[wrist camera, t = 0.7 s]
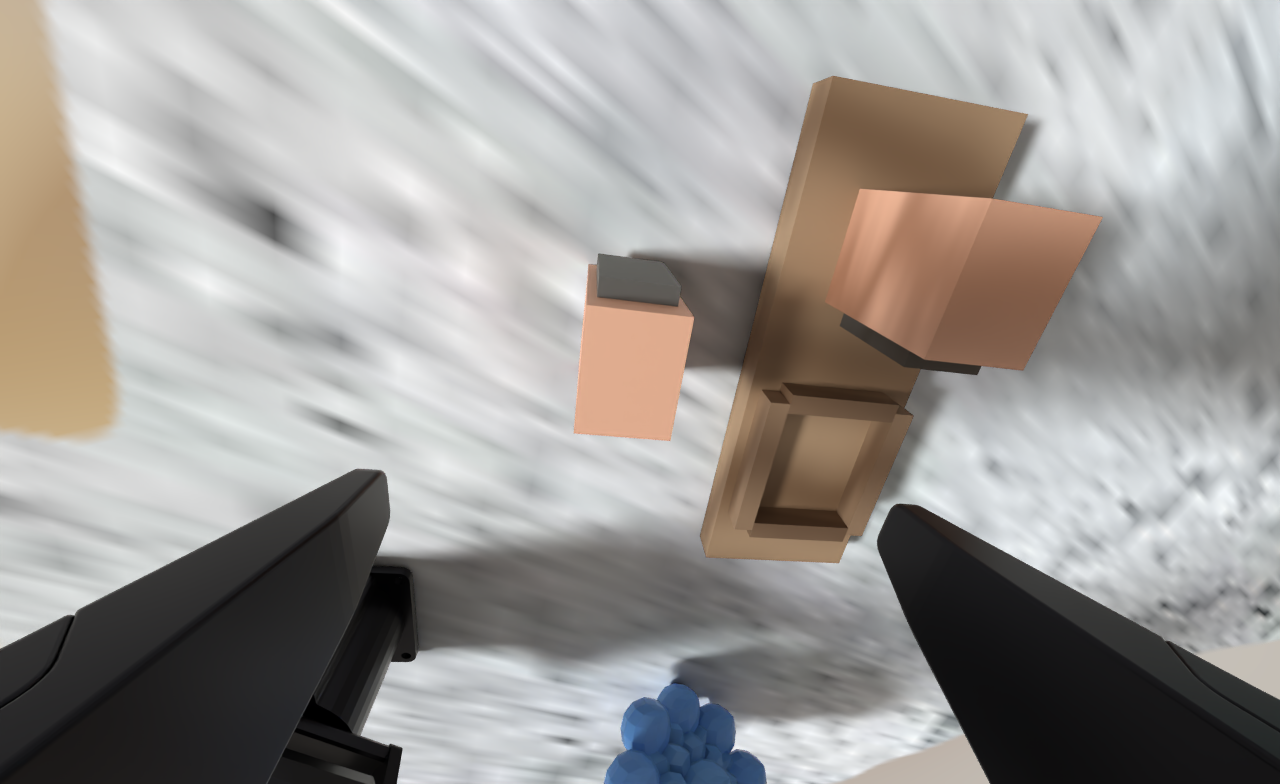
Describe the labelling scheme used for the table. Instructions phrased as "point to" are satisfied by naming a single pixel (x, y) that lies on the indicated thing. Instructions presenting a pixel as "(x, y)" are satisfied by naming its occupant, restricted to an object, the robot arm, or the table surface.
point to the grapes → (681, 744)
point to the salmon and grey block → (631, 349)
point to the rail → (803, 270)
